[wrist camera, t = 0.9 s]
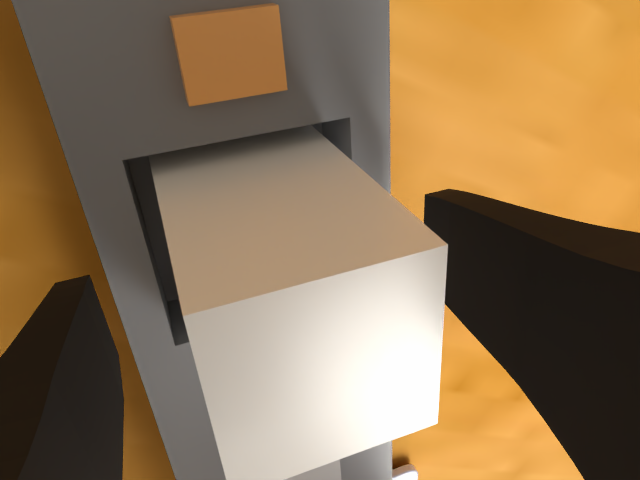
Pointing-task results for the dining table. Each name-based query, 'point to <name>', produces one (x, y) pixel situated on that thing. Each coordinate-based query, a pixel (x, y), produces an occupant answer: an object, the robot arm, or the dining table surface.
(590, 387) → the robot arm
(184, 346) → the power strip
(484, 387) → the dining table surface
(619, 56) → the dining table surface
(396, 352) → the plug
